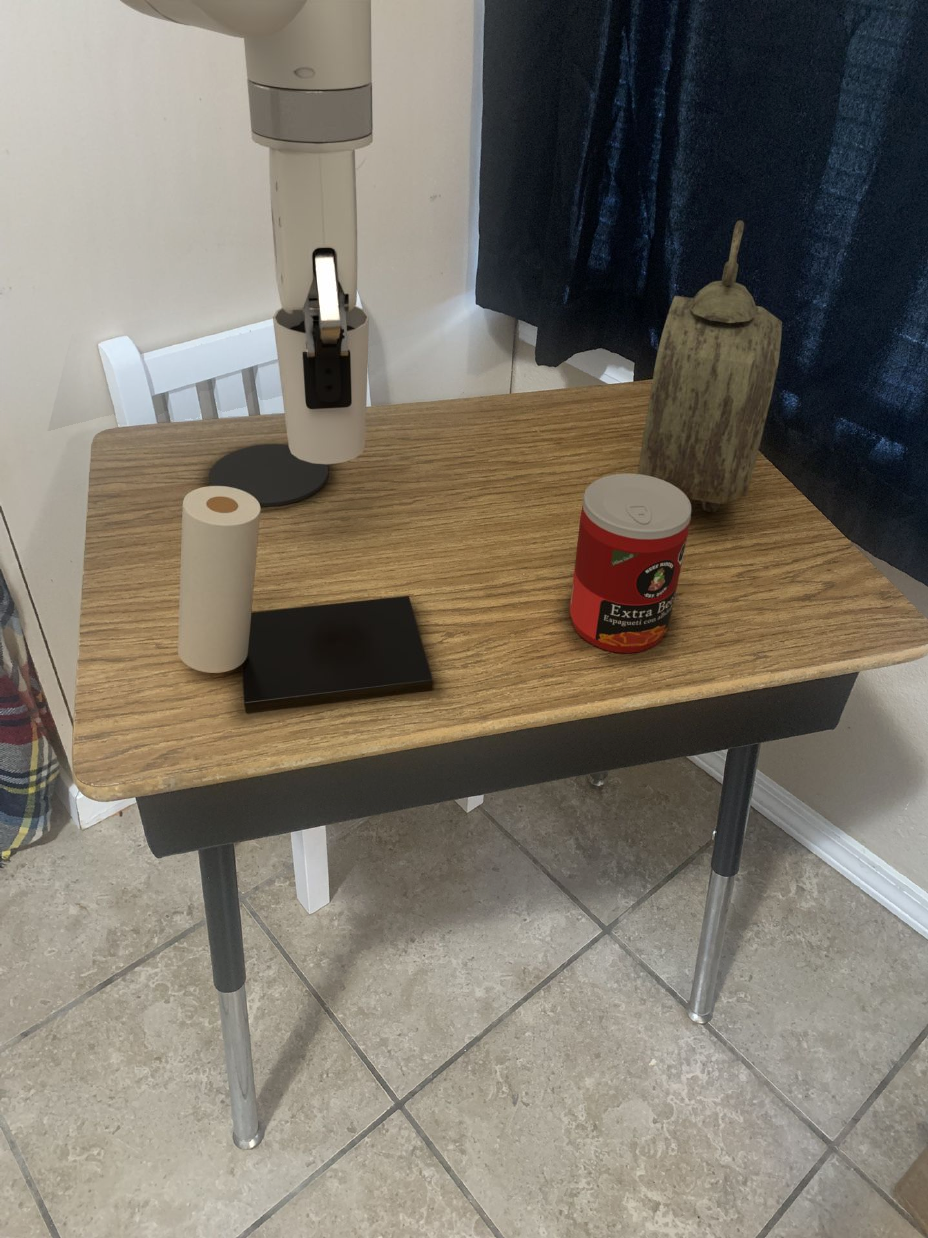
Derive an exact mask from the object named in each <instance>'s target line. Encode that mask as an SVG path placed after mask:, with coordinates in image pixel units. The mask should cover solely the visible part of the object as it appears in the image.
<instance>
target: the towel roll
mask: <svg viewBox="0 0 928 1238" xmlns="http://www.w3.org/2000/svg"><path fill="white" fill-rule="evenodd" d="M261 511H262V510H261V507H260V504H259V502H258V501H257V500H256V499H255V498H254V497H253V496H252V495H250V494H249V493H247V492H245V491H242V490H239V489H236V488H232V487H225V486H211V485H209V486H203V487H199V488H195V489H193V490H192V491H190V492H188V493H187V494H186V495H185V496H184V498H183V499H182V515H181V517H182V518H181V520H182V521H181V544H180V545H181V546H180V572H179V575H180V576H179V601H178V629H177V655H178V657H179V659H180V661H181V662H182V663H183V664H184V665H186V666H187V667H189V668H191V669H193V670H196V671H199V672H202V673H208V674H211V673H212V674H220V673H226V672H230V671H233V670H235V669H237V668H238V667H240V666H242V663H243V662H244V661H245V660H246V658H247V655H248V645H249V634H250V622H251V612H253V610H252V609H253V598H254V589H255V577H256V568H257V567H256V566H257V557H258V556H257V555H258V554H257V553H258V543H259V533H260V522H261V521H260V520H261Z"/></svg>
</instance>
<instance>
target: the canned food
mask: <svg viewBox="0 0 928 1238" xmlns="http://www.w3.org/2000/svg"><path fill="white" fill-rule="evenodd" d="M691 515H692V504H691V501H690V499H689V498H687V496H686V495H685V494H684V493H683V492H682V491H681V490H680V489H678V488H677V487H675V486H674V485H672V484H670V483H668V482H666V481H664V480H661V479H658V478H655V477H651V476H647V475H641V474H638V473H614V474H610V475H605V476H602V477H600V478H597V479H595V480H594V481H593V482H591V483H590V484H589V485H587V487H586V489H585V491H584V495H583V498H582V504H581V510H580V518H579V526H578V536H577V545H576V553H575V561H574V570H573V578H572V587H571V596H570V603H569V613H570V619H571V622H572V626H573V627H574V629H575V631H576V632H577V634H578V635H579V636H580V637H581V638H583V639H584V640H585V641H586V642H588V643H589V644H590V645H592V646H595V647H596V648H599V649H602V650H605V651H609V652H613V653H614V652H615V653H622V654H624V653H625V654H626V653H627V654H631V653H639V652H642V651H646V650H649V649H650V648H653V647H655V645H657V644H659V642H660V641H661V639H662V638H663V637H664V635H665V634H666V632H667V631H668V629H669V625H670V622H671V617H672V612H673V607H674V604H675V603H674V602H675V598H676V593H677V588H678V583H679V578H680V574H681V570H682V569H681V568H682V564H683V559H684V553H685V550H686V545H687V542H688V541H687V540H688V535H689V531H690V524H691V518H692V516H691Z"/></svg>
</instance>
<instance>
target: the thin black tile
mask: <svg viewBox="0 0 928 1238" xmlns="http://www.w3.org/2000/svg"><path fill="white" fill-rule="evenodd" d="M241 675H242V676H241V677H242V693H243V706H244V712H245V714H250V713H258V712H267V711H276V710H282V709H283V710H284V709H291V708H299V707H306V706H307V707H308V706H314V705H316V706H317V705H323V704H331V703H338V702H339V703H340V702H348V701H355V700H363V699H371V698H380V697H386V696H395V695H396V696H397V695H404V694H412V693H418V692H427V691H433V690H434V679H433V675H432V672H431V668H430V665H429V660H428V657H427V654H426V650H425V647H424V644H423V640H422V637H421V632H420V630H419V626H418V622H417V619H416V615H415V612H414V608H413V605H412V602H411V598H410V596H409V595H403V596H395V597H385V598H374V599H366V600H356V601H355V600H354V601H346V602H337V603H329V604H327V603H326V604H319V605H309V606H300V607H299V606H298V607H290V608H280V609H279V608H278V609H272V610H262V611H261V610H260V611H254V612H253V611H251V622H250V634H249V645H248V655H247V658H246V660H245V661H244V662H243V663H242V664H241Z"/></svg>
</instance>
